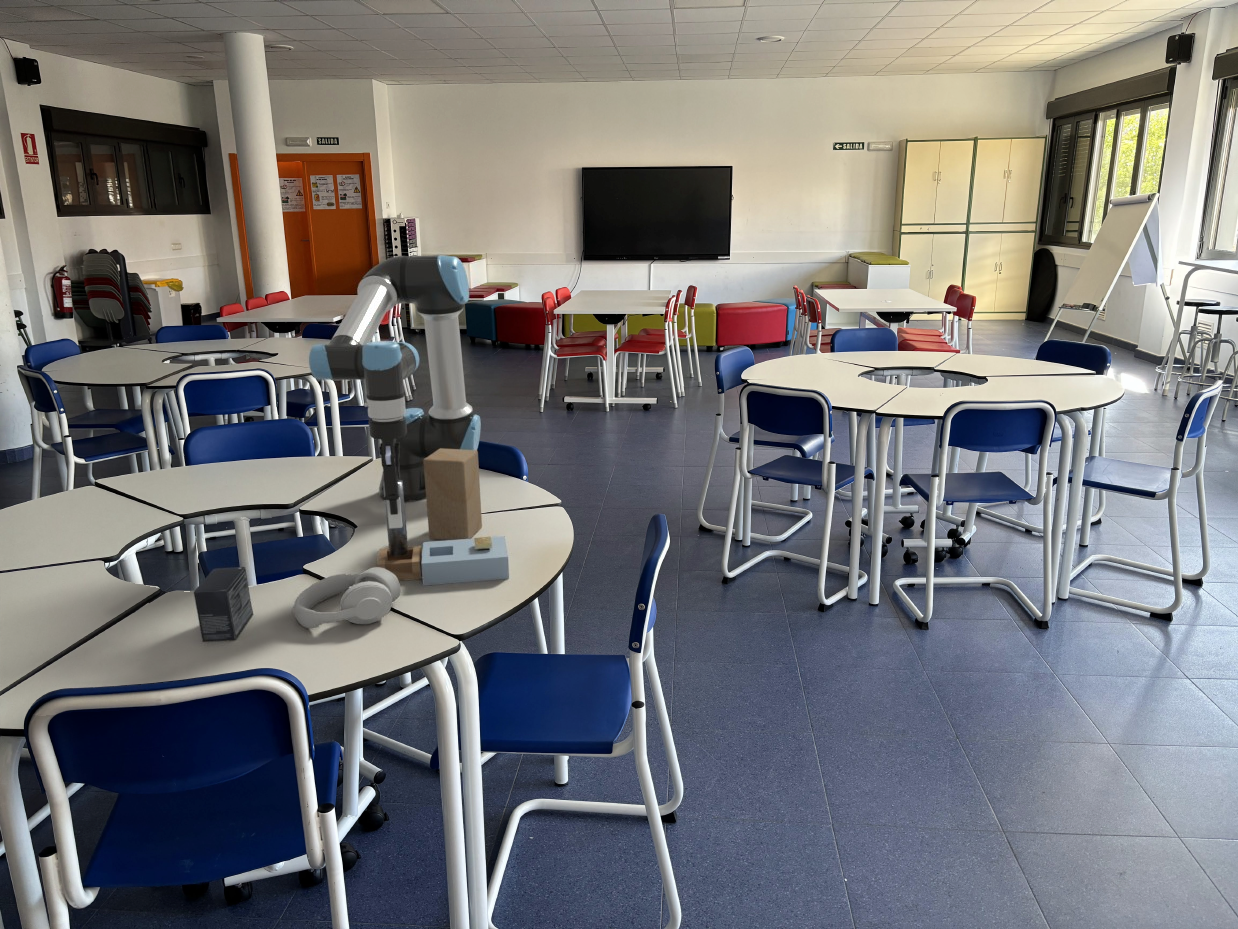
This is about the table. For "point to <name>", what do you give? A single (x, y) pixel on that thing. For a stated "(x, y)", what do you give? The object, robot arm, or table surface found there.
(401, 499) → the cylinder
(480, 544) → the small square tan block
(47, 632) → the table surface
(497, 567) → the socket block
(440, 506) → the wooden block
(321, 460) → the table surface
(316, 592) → the headphones
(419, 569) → the rack
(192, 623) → the table surface
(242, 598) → the small box
